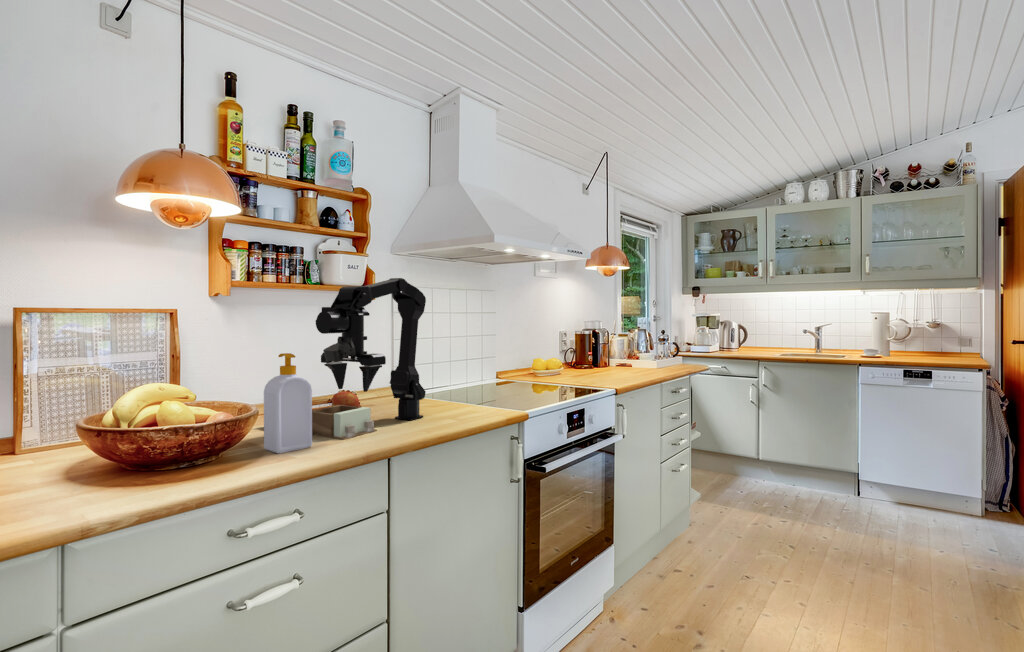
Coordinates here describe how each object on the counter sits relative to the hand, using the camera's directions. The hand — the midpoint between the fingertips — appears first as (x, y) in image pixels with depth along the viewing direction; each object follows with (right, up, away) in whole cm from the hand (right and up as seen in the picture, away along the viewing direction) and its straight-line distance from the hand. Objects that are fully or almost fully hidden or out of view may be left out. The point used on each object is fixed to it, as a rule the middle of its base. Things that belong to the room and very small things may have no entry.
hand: (352, 390), depth 144 cm
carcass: (-3, -12, +2) cm, 12 cm away
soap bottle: (-11, -12, -15) cm, 23 cm away
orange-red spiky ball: (-9, -11, +24) cm, 28 cm away
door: (0, -12, 0) cm, 12 cm away
